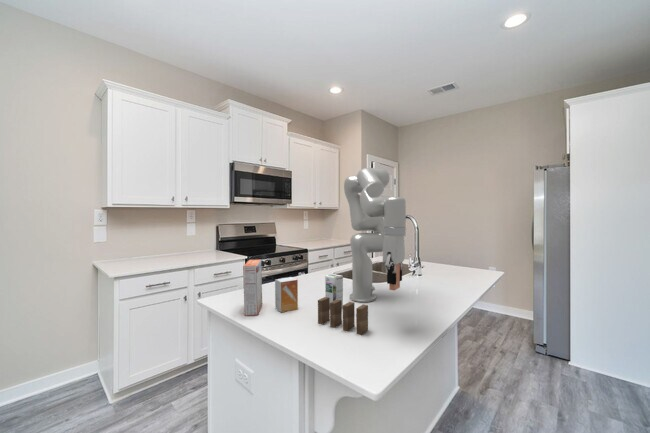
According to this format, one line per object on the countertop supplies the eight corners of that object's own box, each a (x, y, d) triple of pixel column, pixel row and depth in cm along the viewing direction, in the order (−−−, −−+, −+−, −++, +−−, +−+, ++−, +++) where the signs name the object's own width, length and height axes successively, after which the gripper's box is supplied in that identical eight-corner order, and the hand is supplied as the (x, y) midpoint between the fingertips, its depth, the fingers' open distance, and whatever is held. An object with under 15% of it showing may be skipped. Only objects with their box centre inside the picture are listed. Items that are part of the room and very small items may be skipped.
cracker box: (249, 304, 131) (248, 259, 131) (262, 304, 132) (262, 259, 131) (243, 316, 117) (242, 265, 117) (258, 315, 118) (257, 264, 117)
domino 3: (342, 330, 103) (342, 305, 103) (349, 325, 107) (349, 301, 107) (347, 331, 102) (347, 306, 102) (354, 326, 106) (354, 302, 106)
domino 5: (389, 289, 102) (389, 264, 102) (394, 286, 106) (394, 262, 106) (394, 290, 101) (394, 265, 101) (399, 287, 105) (399, 262, 105)
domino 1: (318, 323, 109) (317, 300, 109) (325, 319, 113) (325, 296, 113) (322, 324, 108) (322, 301, 108) (329, 320, 112) (329, 297, 112)
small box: (281, 312, 121) (280, 282, 121) (275, 308, 126) (274, 279, 126) (298, 309, 125) (297, 279, 125) (291, 305, 131) (291, 276, 130)
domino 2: (330, 326, 106) (329, 302, 106) (337, 322, 110) (337, 299, 110) (334, 328, 105) (334, 303, 105) (341, 323, 109) (341, 300, 109)
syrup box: (324, 308, 126) (324, 275, 125) (333, 305, 130) (333, 273, 130) (334, 311, 122) (334, 277, 122) (343, 308, 126) (343, 275, 126)
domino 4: (356, 334, 100) (356, 308, 100) (363, 329, 104) (362, 304, 104) (361, 335, 99) (361, 309, 99) (368, 330, 103) (368, 305, 103)
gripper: (393, 229, 112) (393, 276, 113) (374, 233, 98) (375, 286, 99) (412, 230, 108) (412, 278, 109) (396, 234, 94) (396, 289, 95)
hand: (394, 281), depth 104 cm, fingers closed on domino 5, 4 cm apart
